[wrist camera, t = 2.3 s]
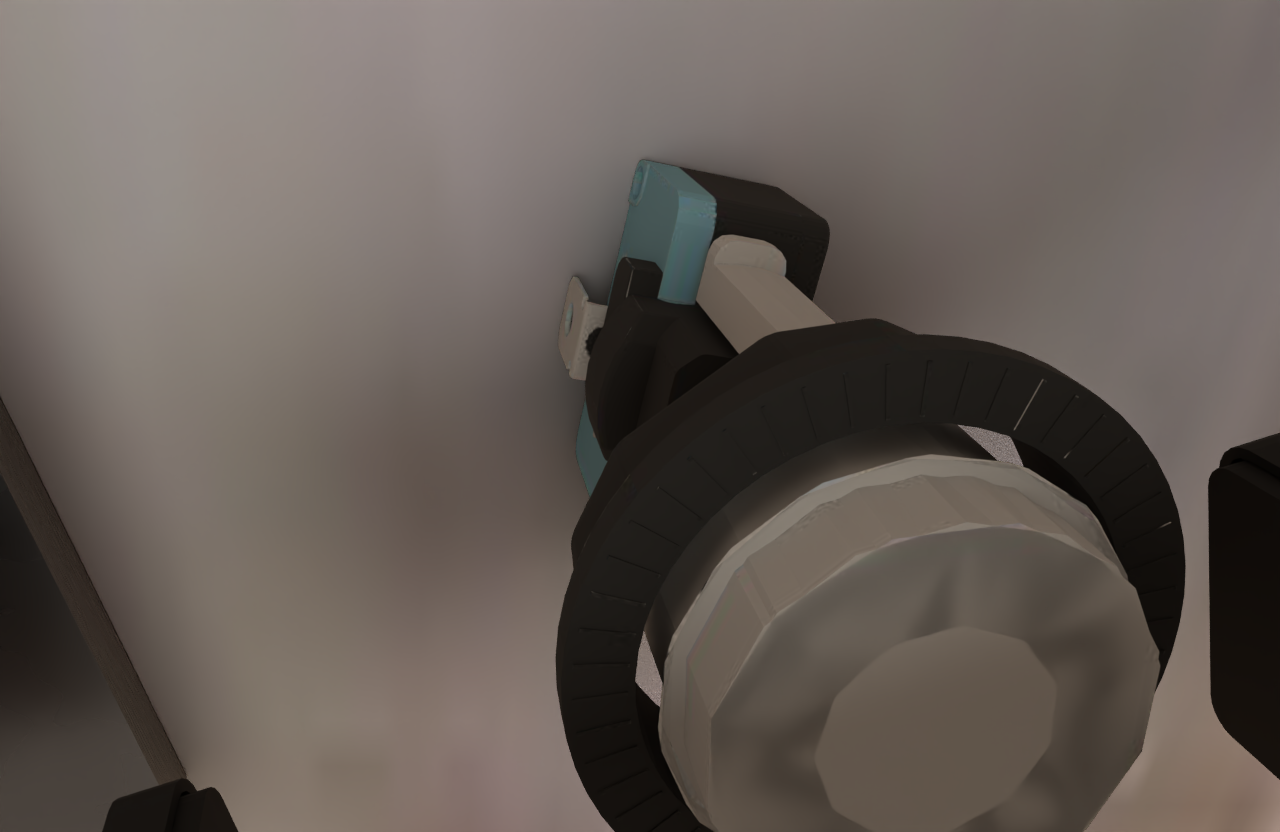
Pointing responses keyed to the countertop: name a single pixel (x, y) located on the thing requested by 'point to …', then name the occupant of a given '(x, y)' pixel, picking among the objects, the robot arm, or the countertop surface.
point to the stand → (62, 675)
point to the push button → (842, 551)
